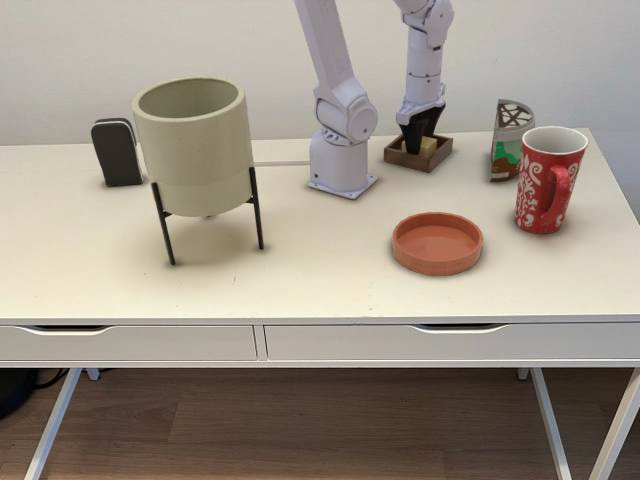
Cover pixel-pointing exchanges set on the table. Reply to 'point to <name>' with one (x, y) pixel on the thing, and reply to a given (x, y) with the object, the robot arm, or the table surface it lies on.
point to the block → (425, 146)
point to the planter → (197, 148)
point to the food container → (509, 138)
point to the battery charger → (116, 151)
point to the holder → (417, 162)
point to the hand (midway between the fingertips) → (418, 147)
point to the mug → (547, 177)
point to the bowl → (437, 243)
